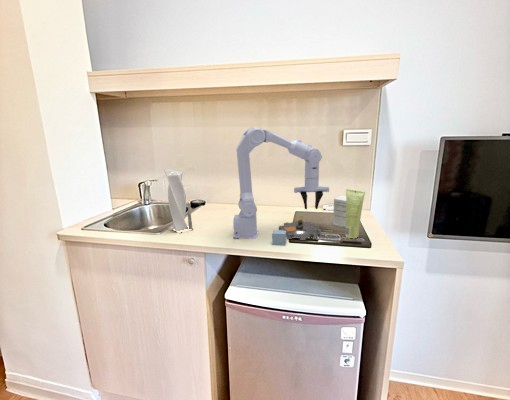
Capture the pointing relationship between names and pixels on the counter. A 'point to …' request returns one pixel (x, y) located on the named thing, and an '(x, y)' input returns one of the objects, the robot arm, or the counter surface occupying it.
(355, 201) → the tube
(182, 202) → the skyscraper
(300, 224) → the sprocket
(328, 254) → the counter surface
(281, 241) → the link block
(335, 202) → the supplement box
